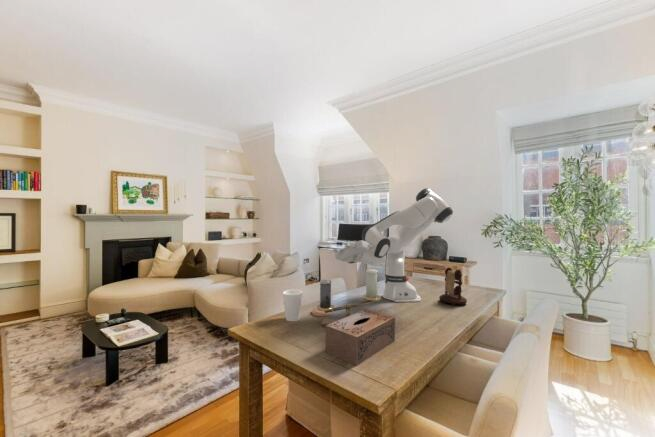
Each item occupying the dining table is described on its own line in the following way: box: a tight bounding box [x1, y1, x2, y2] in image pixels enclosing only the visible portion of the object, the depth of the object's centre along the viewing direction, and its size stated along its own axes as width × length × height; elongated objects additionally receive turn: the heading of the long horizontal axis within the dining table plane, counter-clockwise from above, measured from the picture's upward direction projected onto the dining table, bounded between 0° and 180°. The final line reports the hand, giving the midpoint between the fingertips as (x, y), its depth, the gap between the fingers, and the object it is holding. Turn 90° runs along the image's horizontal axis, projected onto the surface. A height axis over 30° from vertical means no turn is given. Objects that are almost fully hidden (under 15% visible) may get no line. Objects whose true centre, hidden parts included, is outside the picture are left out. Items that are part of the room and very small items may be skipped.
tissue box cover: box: [324, 308, 396, 367], centre depth 110 cm, size 26×14×10 cm, turn 138°
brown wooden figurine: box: [438, 267, 468, 307], centre depth 167 cm, size 15×15×20 cm
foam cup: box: [282, 289, 303, 322], centre depth 138 cm, size 10×9×13 cm
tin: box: [319, 279, 332, 309], centre depth 132 cm, size 5×5×12 cm
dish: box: [311, 307, 332, 318], centre depth 146 cm, size 10×10×1 cm
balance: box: [316, 294, 381, 327], centre depth 131 cm, size 29×8×14 cm, turn 84°
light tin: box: [365, 268, 379, 298], centre depth 130 cm, size 5×5×12 cm
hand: (340, 247), depth 140 cm, fingers open, 8 cm apart
